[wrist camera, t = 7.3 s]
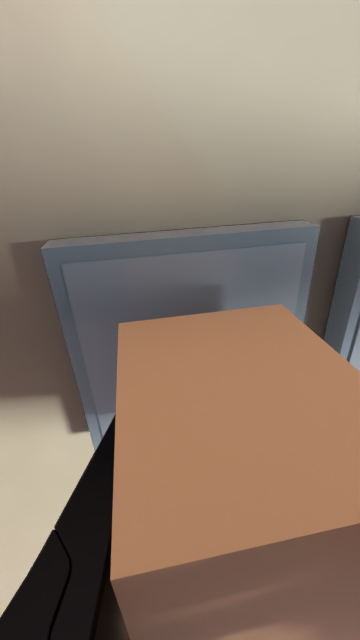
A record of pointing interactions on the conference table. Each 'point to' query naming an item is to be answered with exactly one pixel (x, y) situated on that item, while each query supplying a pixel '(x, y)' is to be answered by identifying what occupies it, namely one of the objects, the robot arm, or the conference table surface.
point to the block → (235, 480)
